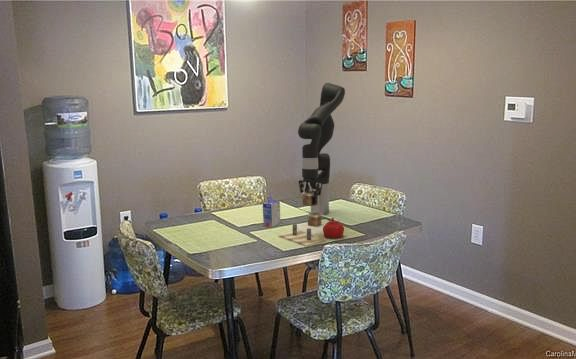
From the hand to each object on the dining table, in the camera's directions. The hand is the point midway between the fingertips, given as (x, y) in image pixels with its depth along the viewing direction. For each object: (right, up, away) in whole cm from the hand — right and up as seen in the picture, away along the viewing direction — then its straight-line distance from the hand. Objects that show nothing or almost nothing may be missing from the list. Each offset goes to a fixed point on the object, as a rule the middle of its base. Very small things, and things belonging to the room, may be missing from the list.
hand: (310, 203), depth 250 cm
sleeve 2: (+3, -12, +23) cm, 26 cm away
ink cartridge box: (-19, -12, +26) cm, 34 cm away
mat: (+2, -13, +18) cm, 23 cm away
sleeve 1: (0, -1, 0) cm, 1 cm away
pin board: (-4, -17, +1) cm, 17 cm away
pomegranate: (+11, -16, +4) cm, 20 cm away
